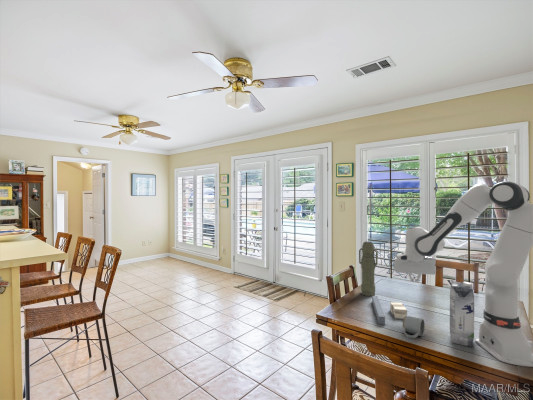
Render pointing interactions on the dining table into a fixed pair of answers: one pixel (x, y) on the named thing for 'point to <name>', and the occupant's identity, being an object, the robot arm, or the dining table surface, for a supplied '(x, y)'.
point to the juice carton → (462, 313)
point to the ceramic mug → (413, 326)
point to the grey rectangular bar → (378, 310)
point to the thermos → (368, 268)
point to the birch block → (398, 310)
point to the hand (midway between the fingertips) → (414, 281)
